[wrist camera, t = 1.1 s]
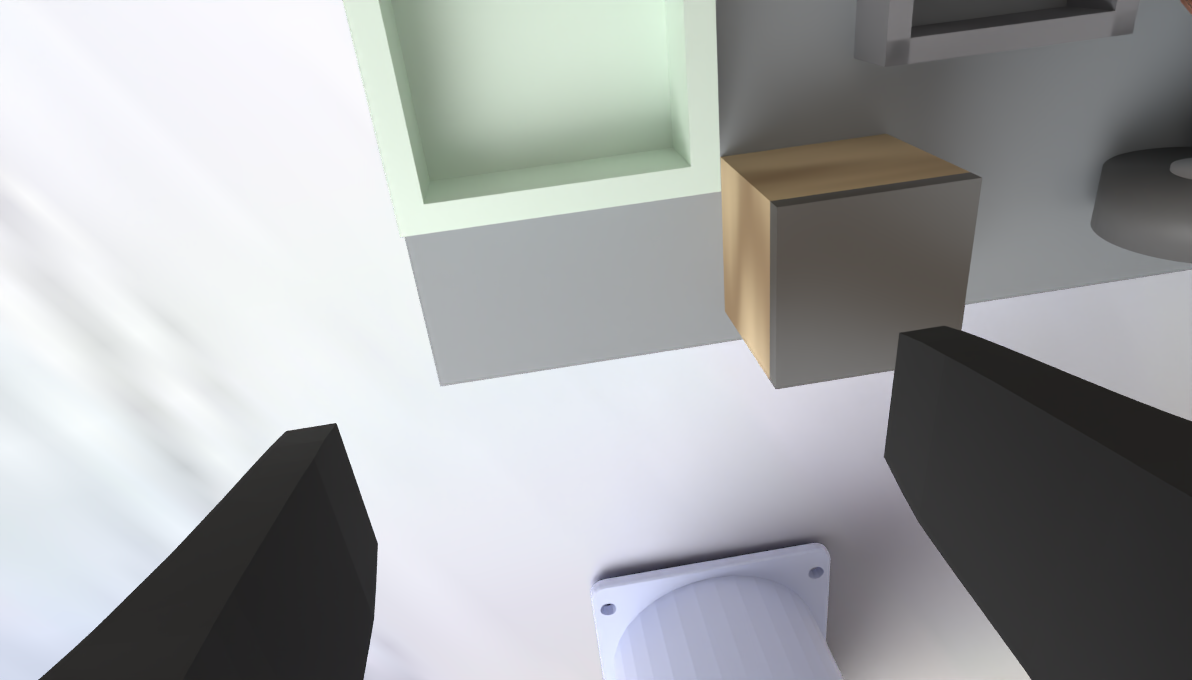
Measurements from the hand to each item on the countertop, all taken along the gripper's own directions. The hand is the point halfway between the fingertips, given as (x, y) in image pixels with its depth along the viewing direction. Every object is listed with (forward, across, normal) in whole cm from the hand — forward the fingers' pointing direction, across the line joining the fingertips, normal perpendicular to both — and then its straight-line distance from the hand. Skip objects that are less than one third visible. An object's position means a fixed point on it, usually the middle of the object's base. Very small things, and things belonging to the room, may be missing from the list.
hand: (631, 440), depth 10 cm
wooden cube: (+9, -6, +1) cm, 11 cm away
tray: (+9, 0, -4) cm, 10 cm away
